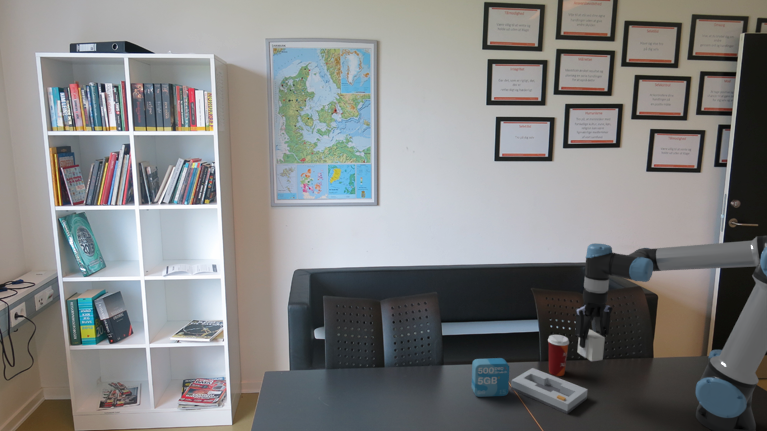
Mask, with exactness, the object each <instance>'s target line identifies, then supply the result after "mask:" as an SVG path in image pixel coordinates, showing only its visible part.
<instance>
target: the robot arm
mask: <svg viewBox="0 0 767 431" xmlns="http://www.w3.org/2000/svg"><path fill="white" fill-rule="evenodd" d="M747 267H748V268H749V267H752V268H753V267H755V269H754V271H753V273H752V275H751V276H752V278H753V280H754V282H755V284H754V287H753V289H752V291H751V293H750V294H749V297H748V298H747V301H746V303H745V305H744V306H743V309H742V311H741V312H740V314H739V317H738V319H737V321H736V322H735V325H734V326H733V329H732V330H731V332H730V334H729V336H728V338H727V339H726V342H725V344H724V346H723V348H722V349H713V350H711V351H710V352H709V354H708V357H707V359H708V363H707V365H706V367H705V369H704V371H703V374H702V375H701V378H700V379H699V380H698V381H697V383H696V385H695V396H696V399H697V402H699V403H698V406H697V407H696V411H695V418H696V420H697V421H698V422H699V423H700V424H701V425H702V426H704V427H705V428H706V429H708V430H711V431H756V428H757V424H756V421H755V418H754V414H753V410H752V401H753V400H752V399H753V392H754V390H755V388H756V386H757V385H758V383H759V378H758V376H757V374H756V372H757V370H758V368H759V366H760V364H761V362H762V360H763V359H764V357H765V355H766V353H767V235H760V236H755V238H753V239H752V240H743V241H731V242H730V241H729V242H721V243H720V242H719V243H717V242H716V243H705V244H693V245H691V244H690V245H681V246H669V247H657V248H656V247H655V248H649V247H643V248H638V249H636V250H634V251H633V252H631V253H629V254H623V253H616V252H613V248H612V246H611V245H608V244H606V243H605V244H604V243H591V244H589V245H588V246H587V250H586V256H585V269H584V281H583V287H584V289H583V292H582V300H583V304H582V306H581V307H580V308H577V307H575V310H574V312H575V315H576V316H575V325H574V326H575V328H574V335H575V336H576V337H578V339H579V338H580V344H579V345H580V347H581V348H580V354H579V355H580V356H582V357H583V358H585V359H587V355H588V343H589V339H587V336H588V332H589V329H590V328H591V325H592V322H593V321H594V326H595V332H596V333H598V334H599V335H601V336H603V337H605V338H606V337H607V335H609V334H610V332H609V331H610V324H611V315H612V311H613V307H612V306H610V305H607V304H606V303H608V297H609V296H608V295H609V293H608V291H609V285H610V276H611V277H617V278H622V279H625V280H626V279H627V280H631V281H634V282H643V283H644V282H645V283H647V282H649V281H650V280H651V278H652V276H653V272H662V271H663V272H664V271H665V272H666V271H685V270H686V271H687V270H704V269H705V270H707V269H727V268H728V269H729V268H747ZM590 330H591V329H590ZM583 334H584V335H583Z"/></svg>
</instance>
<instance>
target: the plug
mask: <svg viewBox="0 0 767 431" xmlns="http://www.w3.org/2000/svg"><path fill="white" fill-rule="evenodd" d="M583 335H584V334H583ZM605 338H606V337H603V336H601V335H599V334H598V333H596V331H594V330H592V329H589V332H588V336H587V339H589V343H588V355H587V358H586V359H587V360H588V361H590V362H597V361H603V358H604V348H605V341H606V339H605ZM579 344H580V338H579V337H578V342H577V353H578V354H579V355H580V348H581V347H580V345H579Z"/></svg>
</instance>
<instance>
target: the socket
mask: <svg viewBox="0 0 767 431" xmlns="http://www.w3.org/2000/svg"><path fill="white" fill-rule="evenodd" d="M510 384H511V386H510V389H511V390H512V391H514V392H517V393H519V394H521V395H522V396H525V397H528V398H530V399H532V400H535V401H537V402H539V403H541V404H544V405H546V406H549V407H550V408H552V409H555V410H557V411H559V412H561V413H564V414H566V415H568V414H570V413H571V412H572V411H573V410H575V409H576V408H577V407H579V405H581V404H582V403H583V402H585V401H586V400H587V398H588V388H585V387H582V386H580V385H577V384H575V383H572V382H569V381H567V380H564V379H561V378H559V377H558V376H555V375H552V374H550V373H547V372H544V371H541V370H539V369H537V368H534V367H532V368H529V369H528V370H527V371H525V372H523V373H521V374H520V375H518V376H516V377H515V378H512V379H511V383H510Z"/></svg>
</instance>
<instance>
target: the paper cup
mask: <svg viewBox="0 0 767 431" xmlns="http://www.w3.org/2000/svg"><path fill="white" fill-rule="evenodd" d="M547 342H548V374H549V375H552V376H555V377H562V376H564V375H565V373H566V372H565V371H566V364H567V358H568V349H569V344H570V341H569V338H568V337H567V336H564V335H561V334H550V335H549V336H548V339H547Z"/></svg>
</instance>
